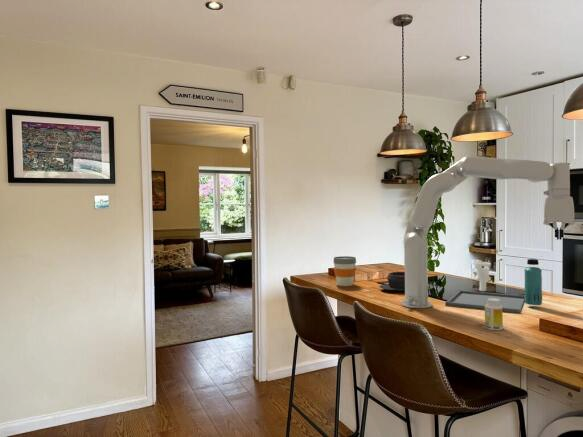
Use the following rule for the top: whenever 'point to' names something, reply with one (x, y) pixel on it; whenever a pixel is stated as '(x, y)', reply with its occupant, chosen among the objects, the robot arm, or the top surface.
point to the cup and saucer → (395, 282)
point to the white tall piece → (482, 273)
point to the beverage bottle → (533, 284)
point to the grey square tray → (485, 300)
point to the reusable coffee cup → (344, 270)
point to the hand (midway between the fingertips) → (559, 239)
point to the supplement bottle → (493, 314)
